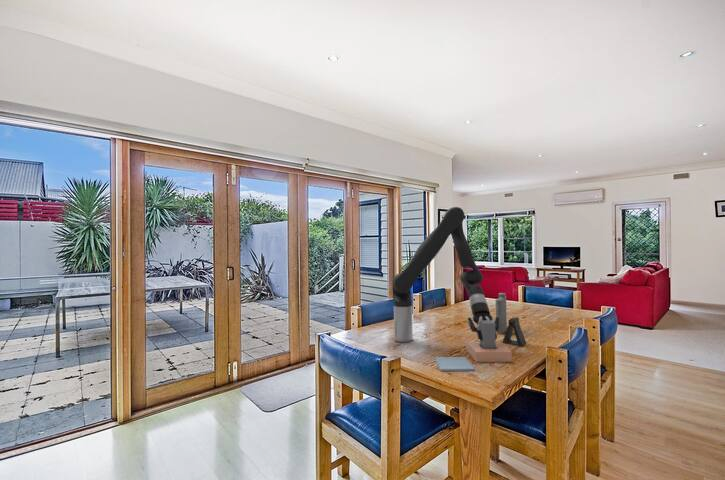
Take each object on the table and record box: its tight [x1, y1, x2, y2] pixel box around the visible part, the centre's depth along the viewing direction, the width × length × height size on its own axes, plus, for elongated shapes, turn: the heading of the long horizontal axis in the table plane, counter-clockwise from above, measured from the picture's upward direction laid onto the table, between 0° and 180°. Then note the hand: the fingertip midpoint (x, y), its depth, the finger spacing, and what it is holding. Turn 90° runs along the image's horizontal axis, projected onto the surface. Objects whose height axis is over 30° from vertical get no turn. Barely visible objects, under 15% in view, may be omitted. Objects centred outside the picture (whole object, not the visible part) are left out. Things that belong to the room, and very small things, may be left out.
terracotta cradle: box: [466, 340, 513, 363], centre depth 147 cm, size 14×14×4 cm
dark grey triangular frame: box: [502, 316, 527, 347], centre depth 164 cm, size 9×6×12 cm, turn 48°
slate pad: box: [434, 356, 476, 372], centre depth 138 cm, size 13×13×1 cm
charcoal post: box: [479, 320, 497, 349], centre depth 147 cm, size 5×5×14 cm
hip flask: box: [495, 292, 508, 335], centre depth 186 cm, size 16×4×20 cm, turn 149°
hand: (488, 339), depth 146 cm, fingers closed on charcoal post, 5 cm apart
